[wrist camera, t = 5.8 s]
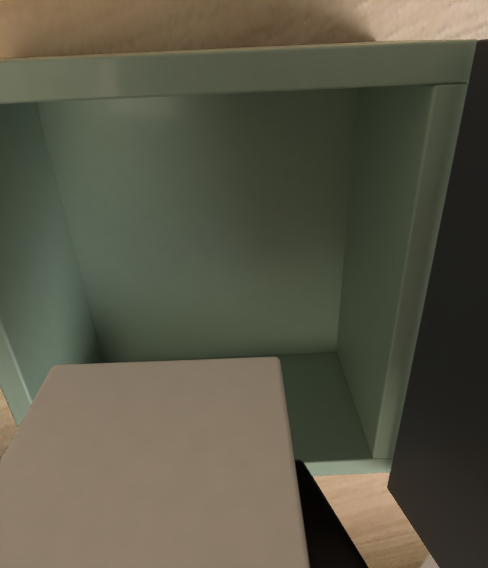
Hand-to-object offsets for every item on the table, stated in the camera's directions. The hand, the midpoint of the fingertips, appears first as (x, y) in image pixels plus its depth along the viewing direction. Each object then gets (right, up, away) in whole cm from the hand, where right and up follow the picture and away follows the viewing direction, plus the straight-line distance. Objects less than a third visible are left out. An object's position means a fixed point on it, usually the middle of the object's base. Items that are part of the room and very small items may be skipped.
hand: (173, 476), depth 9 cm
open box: (0, +6, +9) cm, 11 cm away
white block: (0, +1, +1) cm, 1 cm away
